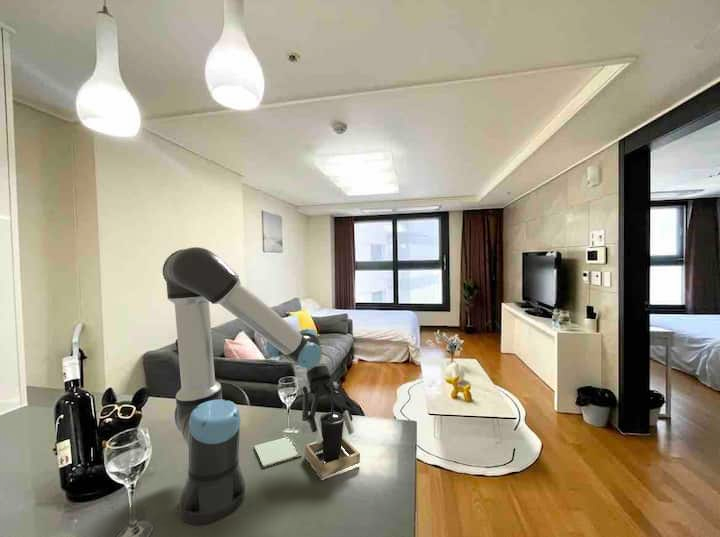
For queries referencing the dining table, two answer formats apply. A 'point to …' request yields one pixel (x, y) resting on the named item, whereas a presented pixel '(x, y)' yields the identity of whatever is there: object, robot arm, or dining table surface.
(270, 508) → the dining table surface
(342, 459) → the oak crate frame
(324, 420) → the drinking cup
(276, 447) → the sage mat
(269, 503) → the dining table surface
